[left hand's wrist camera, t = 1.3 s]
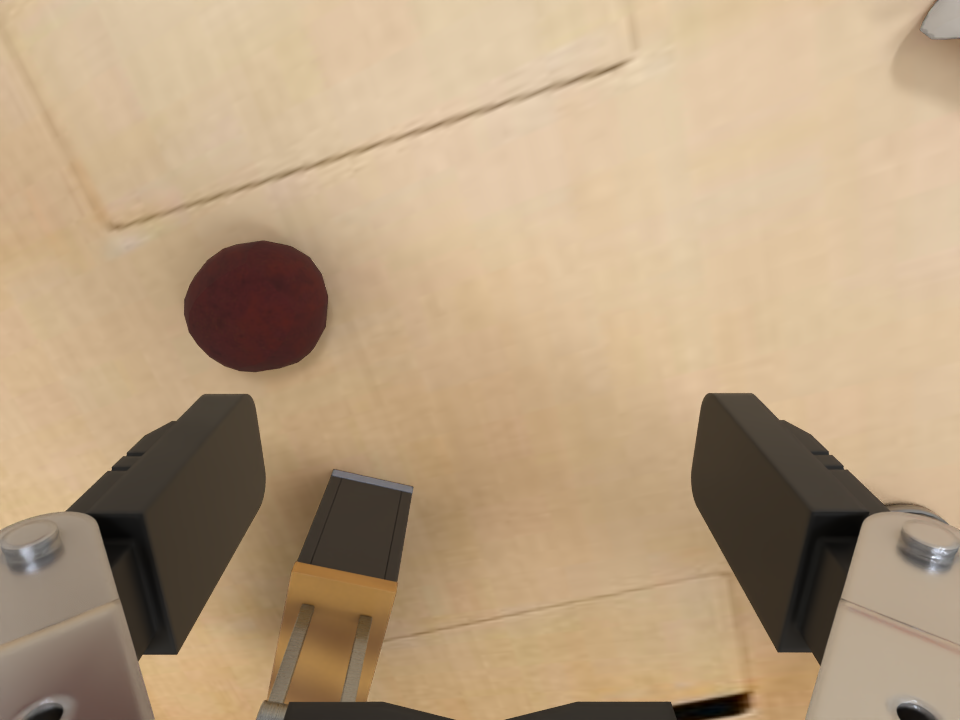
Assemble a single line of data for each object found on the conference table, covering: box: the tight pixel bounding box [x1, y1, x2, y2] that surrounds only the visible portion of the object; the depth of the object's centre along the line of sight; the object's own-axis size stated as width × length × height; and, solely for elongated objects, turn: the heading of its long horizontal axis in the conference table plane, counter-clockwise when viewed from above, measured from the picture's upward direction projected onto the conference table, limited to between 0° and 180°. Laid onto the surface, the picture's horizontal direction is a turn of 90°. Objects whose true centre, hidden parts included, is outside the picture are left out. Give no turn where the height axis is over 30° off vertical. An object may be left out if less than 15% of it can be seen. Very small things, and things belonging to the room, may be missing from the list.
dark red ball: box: [184, 241, 328, 372], centre depth 34 cm, size 7×8×7 cm
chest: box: [297, 469, 413, 582], centre depth 41 cm, size 16×6×10 cm, turn 165°
